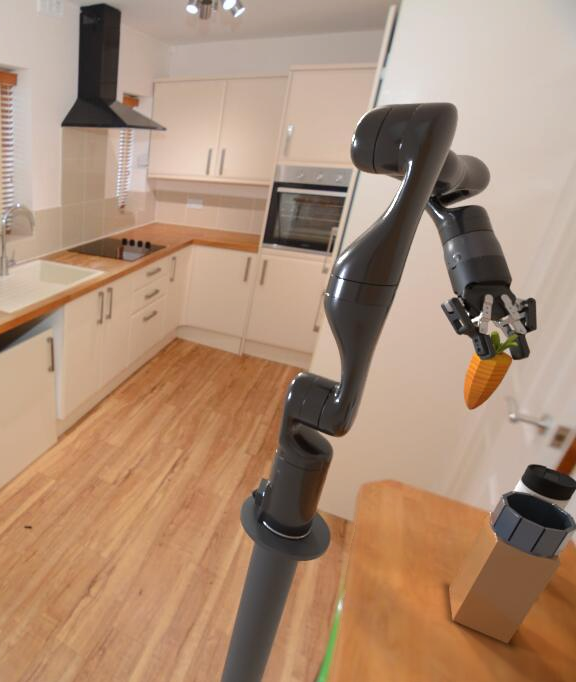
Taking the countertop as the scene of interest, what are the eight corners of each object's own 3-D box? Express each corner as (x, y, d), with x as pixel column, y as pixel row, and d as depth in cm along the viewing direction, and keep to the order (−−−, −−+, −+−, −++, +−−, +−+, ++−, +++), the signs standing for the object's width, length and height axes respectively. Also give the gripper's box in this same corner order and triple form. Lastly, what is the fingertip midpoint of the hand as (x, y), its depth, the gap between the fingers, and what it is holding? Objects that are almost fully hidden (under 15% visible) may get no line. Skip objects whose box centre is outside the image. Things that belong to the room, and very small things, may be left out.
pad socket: (449, 621, 74) (508, 517, 64) (445, 584, 80) (498, 484, 70) (511, 648, 70) (584, 541, 60) (502, 607, 76) (567, 504, 66)
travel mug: (479, 555, 85) (525, 471, 77) (487, 536, 89) (532, 455, 80) (524, 578, 81) (578, 492, 72) (530, 557, 85) (582, 473, 76)
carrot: (485, 406, 80) (520, 328, 74) (491, 420, 76) (528, 340, 70) (450, 398, 83) (481, 323, 76) (454, 412, 79) (487, 334, 72)
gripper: (498, 274, 82) (528, 365, 76) (417, 274, 82) (441, 364, 77) (538, 253, 75) (575, 352, 69) (449, 252, 75) (478, 351, 70)
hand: (504, 358), depth 73 cm, fingers closed on carrot, 4 cm apart
